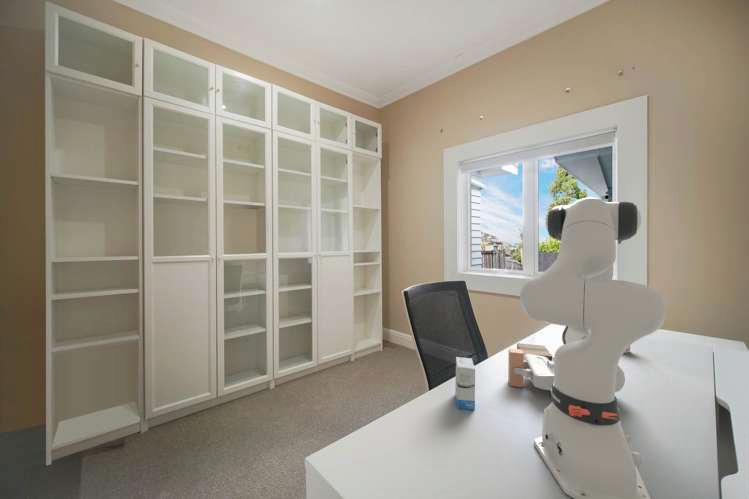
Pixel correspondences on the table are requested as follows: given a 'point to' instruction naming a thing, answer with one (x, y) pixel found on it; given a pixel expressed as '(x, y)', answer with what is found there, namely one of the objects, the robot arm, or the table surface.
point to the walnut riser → (534, 350)
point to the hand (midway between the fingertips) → (512, 366)
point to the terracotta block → (515, 361)
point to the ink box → (465, 383)
